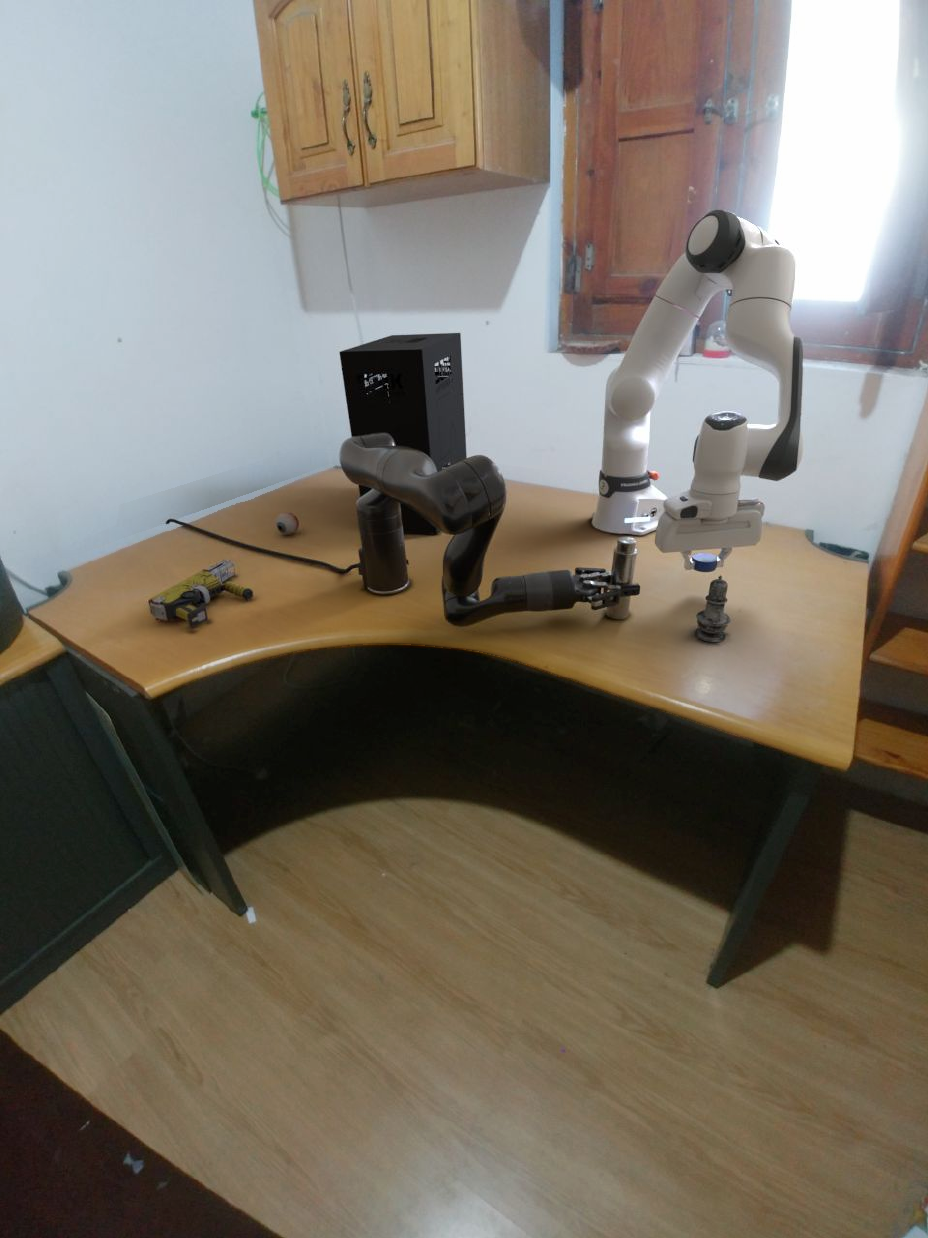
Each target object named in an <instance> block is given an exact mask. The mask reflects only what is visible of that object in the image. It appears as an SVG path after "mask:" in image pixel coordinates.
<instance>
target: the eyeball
mask: <svg viewBox="0 0 928 1238" xmlns="http://www.w3.org/2000/svg"><path fill="white" fill-rule="evenodd" d="M299 525H300V522H299V519H298V517H297V516H296V515H295V514H294V513H292V512H287V511H286V512H282V513H280V514H279V515H278V516H277V517H276V520H275V527H276V529H277V530H278V531H279V532H280V533H281V534H282V535H285V536H286V535H287V536H289V535H293V534H295V533H296V532H297V531H298V529H299Z"/></svg>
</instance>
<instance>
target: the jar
mask: <svg viewBox="0 0 928 1238" xmlns="http://www.w3.org/2000/svg"><path fill="white" fill-rule="evenodd" d="M636 543H637V540H636V539H635V538H634V537H630V536H621V537H618V538H617V541H616V544H617V545H616V546H615V547H614V548H613V553H612V563H611V571H610V572H611V578H610V585H619V586H620V585H625V584H634V582H633V581H634V576H635V568H636V561H637V555H638V549H636ZM609 591H613V590H608V592H609ZM631 597H632V596H625V597H620V603H619V604H617V605H613V606H609V607H606V616H607V617H609V618H610V619H615V620H625V619H626V618H628V616H629V611H630V603H631ZM610 600H613V599H610Z"/></svg>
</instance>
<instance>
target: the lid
mask: <svg viewBox="0 0 928 1238" xmlns="http://www.w3.org/2000/svg"><path fill="white" fill-rule="evenodd" d="M717 557H718V556H716V555H714V554H713V553H708V552H697V553H694V554H692V555H691V559H692V560H693V561H694V562H695V566H694V567H695V568H694V569H693V570H694V571H695V572H700V573H712V572H714V571H715V570H716V569H717V568H716V566H717Z"/></svg>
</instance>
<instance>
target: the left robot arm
mask: <svg viewBox="0 0 928 1238" xmlns="http://www.w3.org/2000/svg"><path fill="white" fill-rule="evenodd" d="M338 458H339V464H340V467H341V470H342V472H343V473H344V475H345V477H346V478H347V480H349V481H350V482H351V483H352V484H354V485H362V486H367V487H370V488H372V490H370V491H369V492H368V493H366V494H365V495H363V496H362V497H360V496H359V498H357V500H356V502H355V511H356V517H357V518H356V519H357V524H358V530H359V539H360V545H361V546H360V548H358V558H359V562H358V563H354V564H351V565H349V566H347V568H340V567H337V566H335V565H333V564H330V563H328V562H325V561H321V560H316V559H313V558H307V557H303V556H298V555H293V554H288V553H284V552H280V551H275V550H271V549H268V548H267V549H266V548H263V547H260V546H256V545H255V546H254V545H251V544H247V543H244V542H241V541H238V540H235V539H231V538H229V537H226V536H222V535H220V534H216V533H214V532H211V531H209V530H205V529H203V528H200V527H198V526H196V525H192V524H190V523H187V522H184V521H180V520H178V519H175V518H168V519H167V520H166V521H165V525H169V524H170V523H174V524H176V525H179V526H183V527H186V528H189V529H192V530H194V531H198V532H199V533H202V534H205V535H207V536H210V537H213V538H215V539H218V540H220V541H221V540H222V541H223V542H227V543H229V544H233V545H236V546H239V547H243V548H246V549H249V550H253V551H257V552H260V553H264V554H268V555H272V556H275V557H281V558H286V559H289V560H295V561H299V562H303V563H308V564H313V565H318V566H323V567H326V568H328V569H330V570H332V571H334V572H336V573H339V574H347V573H350V572H351V571H352V570H354V569H357V570H358V575H359V576H361V577H362V585H363V589H364V590H367V591H369V592H370V593H372V594H374V595H380V596H381V595H382V596H385V595H386V596H387V595H394V594H397V593H401V592H403V591H405V590H406V589H408V588H409V586H410V579H409V571H408V565H410V563H409V559H407V553H406V544H405V533H403V524H402V515H401V506H400V503H402V504H404V505H406V506H408V507H409V508H411V509H413V510H414V511H416V512H417V513H419V514H420V515H421V516H422V517H424V518H425V519H426V520H427V521H429V522H430V523H431V524H432V525H433V526H435V527H436V528H437V529H439V532H441V533H443V534H445V535H449V536H452V537H451V539H450V540H449V542H448V543H447V546H446V548H445V551H444V553H443V557H442V576H441V580H440V581H441V585H440V586H441V598H442V608H443V616H444V620H445V621H446V623H448V624H450V625H452V626H454V627H458V628H464V627H470V626H472V625H476V624H478V623H481V622H483V621H486V620H488V619H492V618H494V617H497V616H501V615H504V614H514V613H525V612H526V613H527V612H529V613H530V612H532V613H540V612H541V613H542V612H552V611H563V610H572V609H573V608H574V606H575V605H576V603H588V604H589V605H590V610H592V611H598V610H601V609H605V608H607V607H609V606H613V605H617V604H619V603H620V597H625V596H631V597H634V596H639V595H640V593H641V585H640V584H639V583H632V584H625V585H620V586H619V585H610V578H611V571H607V569H606V568H604V567H603V568H602V567H601V568H599V567H579V566H577V567H575V568H574V574H573V573H572V571H571V570H570V569H560V570H559V569H557V570H548V571H547V570H546V571H536V572H530V573H526V574H519V575H518V574H517V575H508V576H498V577H495V578H494V579H493V580H492V582H491V588H490V596H489V597H487V598H485V599H483V600H481V597H480V591H479V588H480V587H481V584H482V581H483V574H484V566H485V565H484V564H485V560H486V555H487V552H488V549H489V546H490V544H491V542H492V539H493V537H494V534H495V532H496V530H497V528H498V525H499V522H500V520H501V518H502V515H503V513H504V511H505V507H506V504H507V496H508V495H507V493H508V492H507V491H508V490H507V485H506V482H505V478H504V476H503V474H502V472H501V470H500V469H499V467H498V466H497V465H496V463H495V462H494V461H493V460H492V459H491V458H489V457H488V456H486V455H483V454H476V455H472V456H468V457H467V458H466V459H464V460H461V461H460V462H457V463H455V464H453V465H451V466H449V467H446V468H444V469H442V470H440V471H438V472H437V469H436V467H435V464H434V462H433V461H432V460H431V458H430V457H429V456H428V455H426V454H425V453H423V452H421V451H419V450H416V449H413V448H410V447H405V446H396V445H395V442H394V440H393V438H392V436H391V435H390V434H388V433H386V432H379V433H373V434H367V435H360V436H354V437H351V436H350V437H349V438H346V439H345V440H343V442H342V443H341V445H340V448H339V453H338ZM602 589H603V590H602ZM609 590H613V591H609ZM610 599H613V600H610Z"/></svg>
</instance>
